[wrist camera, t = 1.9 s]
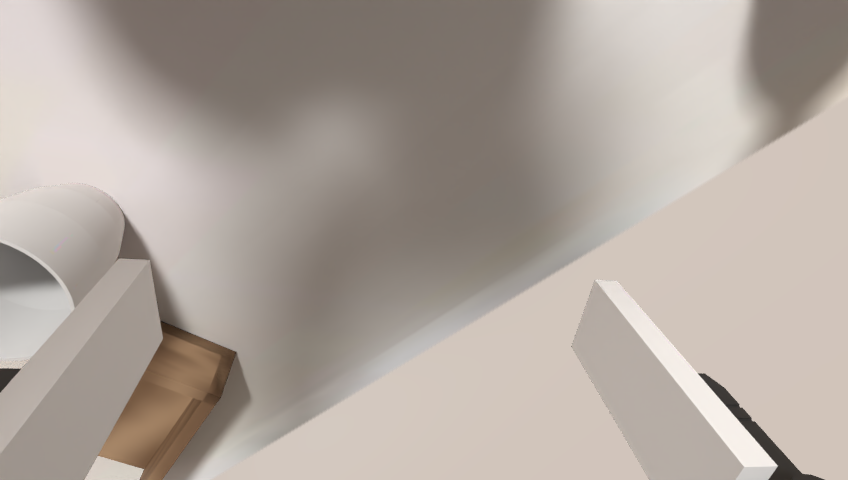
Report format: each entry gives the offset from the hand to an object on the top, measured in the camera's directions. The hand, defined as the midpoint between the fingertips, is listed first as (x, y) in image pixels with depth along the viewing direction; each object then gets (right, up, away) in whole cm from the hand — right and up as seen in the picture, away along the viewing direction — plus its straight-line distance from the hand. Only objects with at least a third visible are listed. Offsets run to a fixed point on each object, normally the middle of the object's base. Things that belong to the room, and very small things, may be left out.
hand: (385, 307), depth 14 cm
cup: (-22, +4, +19) cm, 29 cm away
